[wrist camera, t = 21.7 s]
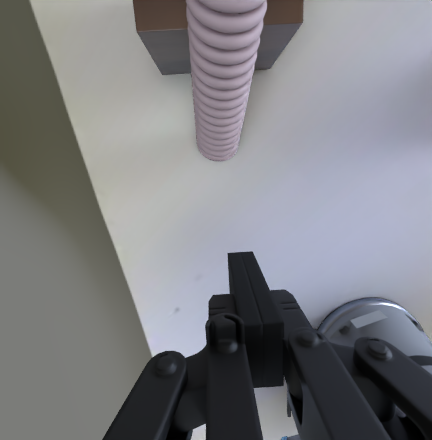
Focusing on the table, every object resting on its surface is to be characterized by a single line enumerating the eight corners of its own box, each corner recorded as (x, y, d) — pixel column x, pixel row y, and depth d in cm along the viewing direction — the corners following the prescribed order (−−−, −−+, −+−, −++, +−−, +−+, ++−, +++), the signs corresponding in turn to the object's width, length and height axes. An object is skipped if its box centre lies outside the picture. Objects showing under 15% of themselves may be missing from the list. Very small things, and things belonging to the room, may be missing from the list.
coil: (241, 161, 28) (294, -47, 11) (200, 167, 28) (186, -38, 10) (233, 126, 29) (269, -112, 12) (194, 131, 29) (172, -106, 11)
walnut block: (270, 68, 27) (303, 22, 18) (162, 74, 27) (136, 32, 18) (269, -8, 26) (306, -104, 16) (154, -1, 26) (121, -95, 16)
